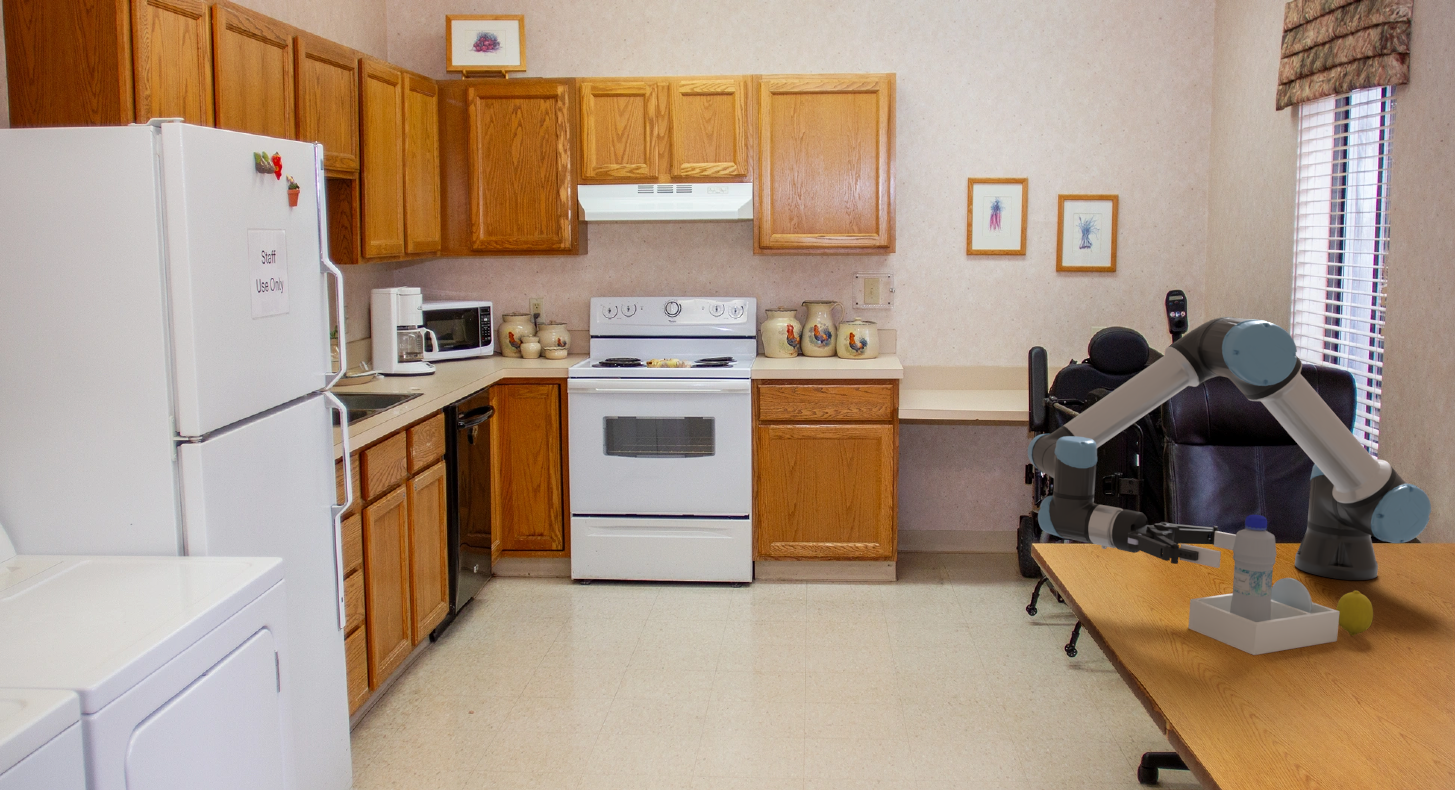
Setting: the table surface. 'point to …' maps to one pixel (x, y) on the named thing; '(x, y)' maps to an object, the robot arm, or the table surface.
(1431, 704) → the table surface
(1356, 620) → the lemon
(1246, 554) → the bottle
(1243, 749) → the table surface
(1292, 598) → the divided tray
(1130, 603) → the table surface
